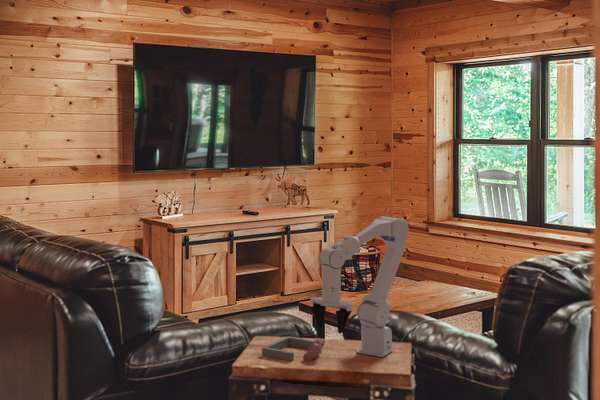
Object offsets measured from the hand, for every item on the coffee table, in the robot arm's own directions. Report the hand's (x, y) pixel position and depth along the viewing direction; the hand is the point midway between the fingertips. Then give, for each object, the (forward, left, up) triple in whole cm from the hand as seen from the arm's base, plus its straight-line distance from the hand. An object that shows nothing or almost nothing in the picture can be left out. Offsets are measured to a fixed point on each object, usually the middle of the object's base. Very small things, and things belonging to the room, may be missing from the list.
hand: (330, 330), depth 229 cm
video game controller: (+7, -1, -10) cm, 12 cm away
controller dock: (+16, -1, -10) cm, 19 cm away
